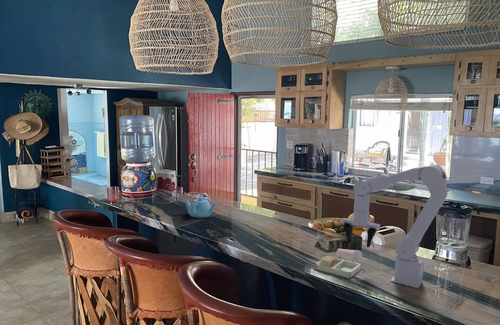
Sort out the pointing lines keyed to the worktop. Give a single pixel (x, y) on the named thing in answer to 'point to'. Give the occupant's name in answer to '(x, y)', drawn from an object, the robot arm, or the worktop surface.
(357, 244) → the juice carton
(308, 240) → the worktop surface
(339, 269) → the tray
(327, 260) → the maple block
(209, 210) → the teapot
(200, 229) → the worktop surface
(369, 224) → the robot arm
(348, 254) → the smoothie
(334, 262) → the terracotta ball
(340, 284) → the worktop surface
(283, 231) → the worktop surface
